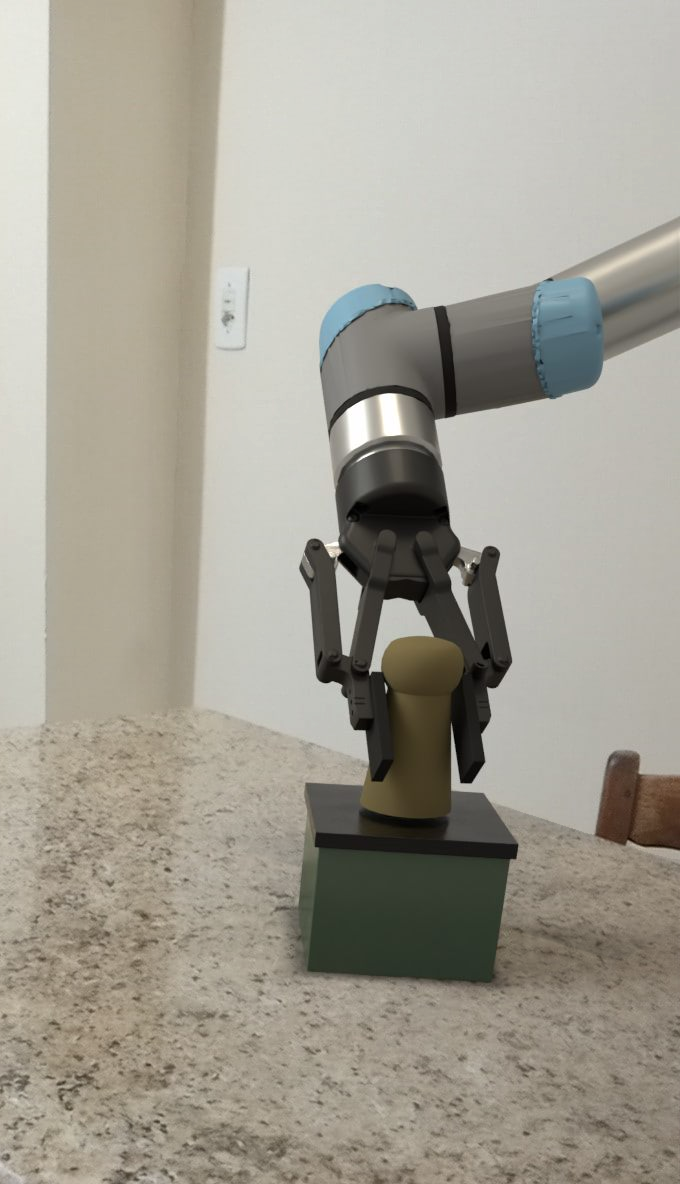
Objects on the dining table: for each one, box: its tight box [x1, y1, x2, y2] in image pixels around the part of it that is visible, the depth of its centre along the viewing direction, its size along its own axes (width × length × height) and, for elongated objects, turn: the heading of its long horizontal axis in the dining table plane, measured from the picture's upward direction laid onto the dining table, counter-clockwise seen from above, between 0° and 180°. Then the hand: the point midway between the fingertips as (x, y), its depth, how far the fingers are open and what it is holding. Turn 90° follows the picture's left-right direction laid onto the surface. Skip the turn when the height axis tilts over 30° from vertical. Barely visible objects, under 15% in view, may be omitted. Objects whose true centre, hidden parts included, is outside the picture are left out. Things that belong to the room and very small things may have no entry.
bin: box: [297, 782, 520, 983], centre depth 93 cm, size 13×13×10 cm
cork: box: [360, 635, 464, 818], centre depth 89 cm, size 6×6×11 cm
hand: (427, 771), depth 87 cm, fingers closed on cork, 5 cm apart
